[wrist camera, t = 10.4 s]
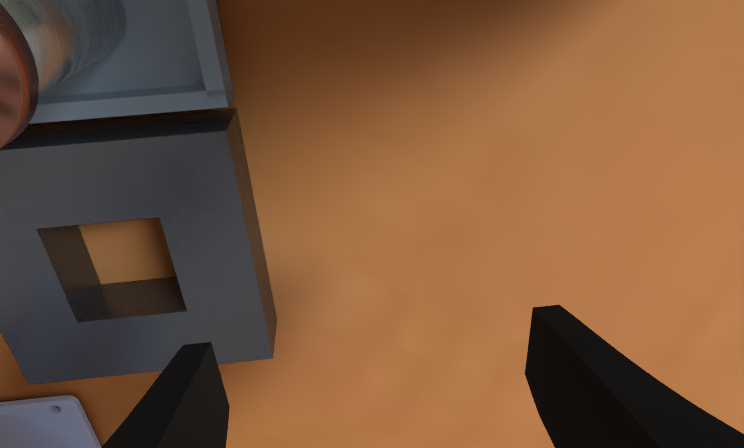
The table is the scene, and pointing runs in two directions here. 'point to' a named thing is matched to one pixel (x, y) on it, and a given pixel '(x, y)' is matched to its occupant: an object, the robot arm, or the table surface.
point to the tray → (150, 67)
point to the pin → (49, 50)
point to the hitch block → (119, 203)
